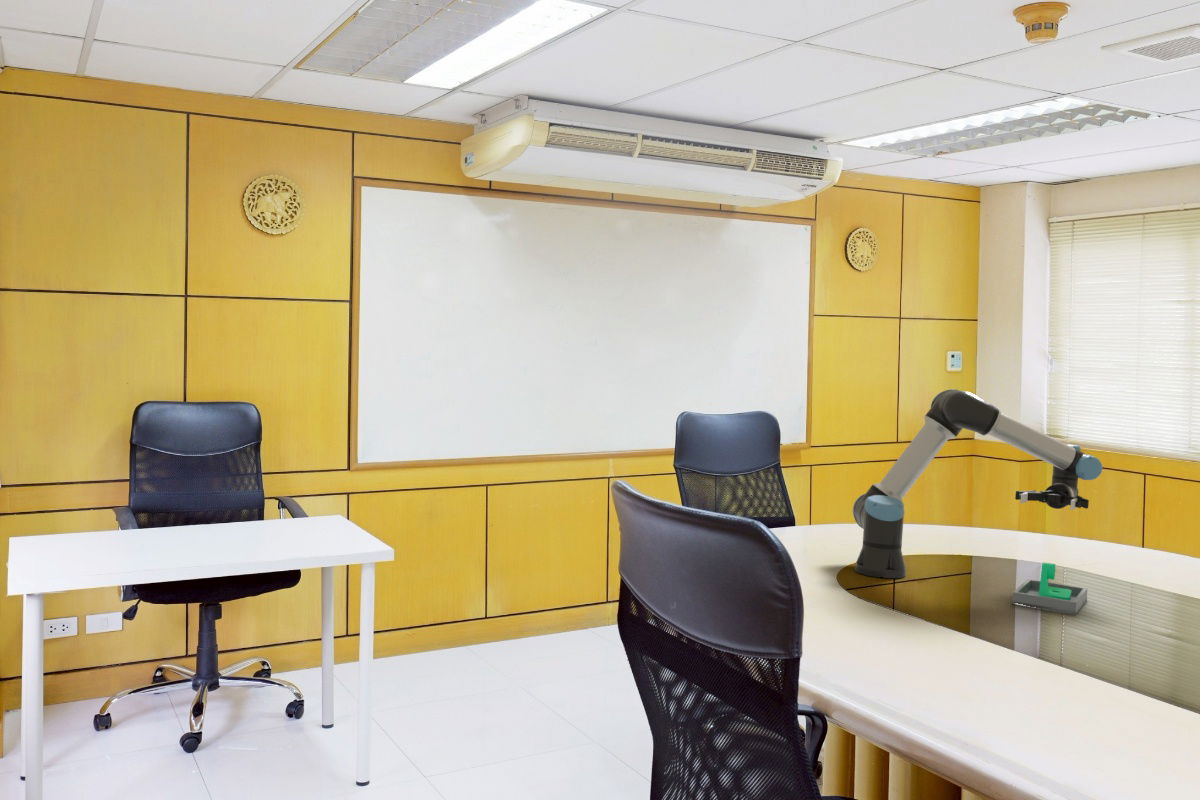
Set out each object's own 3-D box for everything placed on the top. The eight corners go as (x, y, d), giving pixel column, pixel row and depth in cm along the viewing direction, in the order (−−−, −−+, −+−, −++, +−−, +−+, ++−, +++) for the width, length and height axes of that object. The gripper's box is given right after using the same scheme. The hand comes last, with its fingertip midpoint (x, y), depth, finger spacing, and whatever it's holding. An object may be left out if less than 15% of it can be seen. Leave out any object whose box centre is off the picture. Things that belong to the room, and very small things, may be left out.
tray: (1012, 604, 275) (1012, 592, 275) (1027, 590, 293) (1027, 579, 293) (1075, 615, 266) (1076, 602, 266) (1086, 600, 285) (1087, 588, 285)
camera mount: (1068, 607, 271) (1071, 570, 270) (1038, 602, 274) (1040, 566, 274) (1070, 598, 281) (1073, 562, 281) (1041, 594, 285) (1044, 559, 285)
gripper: (1102, 513, 303) (1092, 520, 285) (1015, 502, 316) (1000, 508, 299) (1104, 488, 302) (1094, 494, 285) (1017, 478, 316) (1003, 483, 298)
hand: (1046, 501), depth 292 cm, fingers open, 13 cm apart
